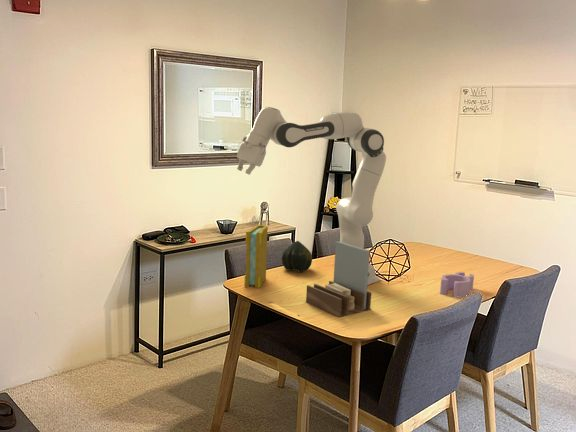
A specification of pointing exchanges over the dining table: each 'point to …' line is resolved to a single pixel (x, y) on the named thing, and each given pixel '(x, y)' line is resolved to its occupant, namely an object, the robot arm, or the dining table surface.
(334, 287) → the offcut top
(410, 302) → the dining table surface
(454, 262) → the dining table surface
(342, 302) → the rack
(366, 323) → the dining table surface
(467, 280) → the clip
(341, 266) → the sheet
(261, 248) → the book
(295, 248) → the squash
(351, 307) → the offcut bottom
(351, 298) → the offcut middle
